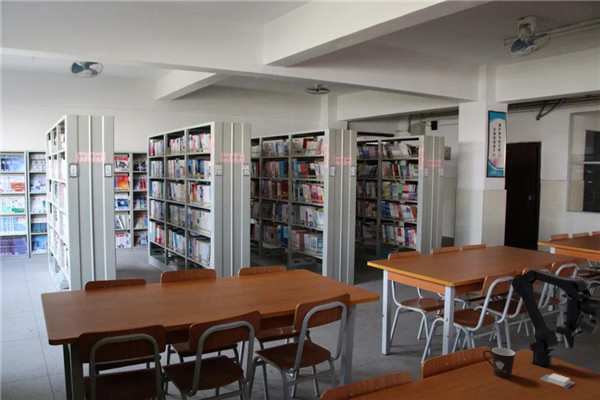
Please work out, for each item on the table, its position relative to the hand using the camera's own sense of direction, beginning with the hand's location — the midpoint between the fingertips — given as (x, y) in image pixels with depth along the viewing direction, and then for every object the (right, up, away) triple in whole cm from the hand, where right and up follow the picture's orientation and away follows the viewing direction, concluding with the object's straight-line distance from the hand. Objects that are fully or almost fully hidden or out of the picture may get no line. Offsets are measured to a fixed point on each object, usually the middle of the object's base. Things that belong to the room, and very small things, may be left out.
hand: (571, 348), depth 192 cm
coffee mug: (-29, -11, +2) cm, 31 cm away
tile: (-7, -11, -4) cm, 13 cm away
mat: (-9, -12, -5) cm, 15 cm away
